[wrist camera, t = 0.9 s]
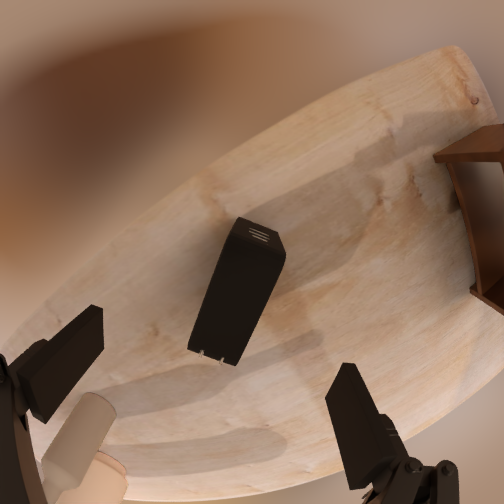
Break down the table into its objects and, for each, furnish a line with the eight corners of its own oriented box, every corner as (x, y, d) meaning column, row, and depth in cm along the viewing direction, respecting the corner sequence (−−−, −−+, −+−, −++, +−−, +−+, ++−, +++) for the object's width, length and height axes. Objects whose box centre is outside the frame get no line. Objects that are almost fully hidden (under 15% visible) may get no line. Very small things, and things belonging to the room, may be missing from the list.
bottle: (123, 417, 36) (63, 549, 8) (101, 421, 36) (42, 537, 9) (97, 389, 34) (17, 521, 7) (76, 395, 35) (2, 509, 8)
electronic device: (277, 230, 28) (288, 257, 18) (241, 314, 30) (235, 371, 20) (238, 215, 27) (228, 233, 18) (205, 301, 30) (184, 353, 20)
